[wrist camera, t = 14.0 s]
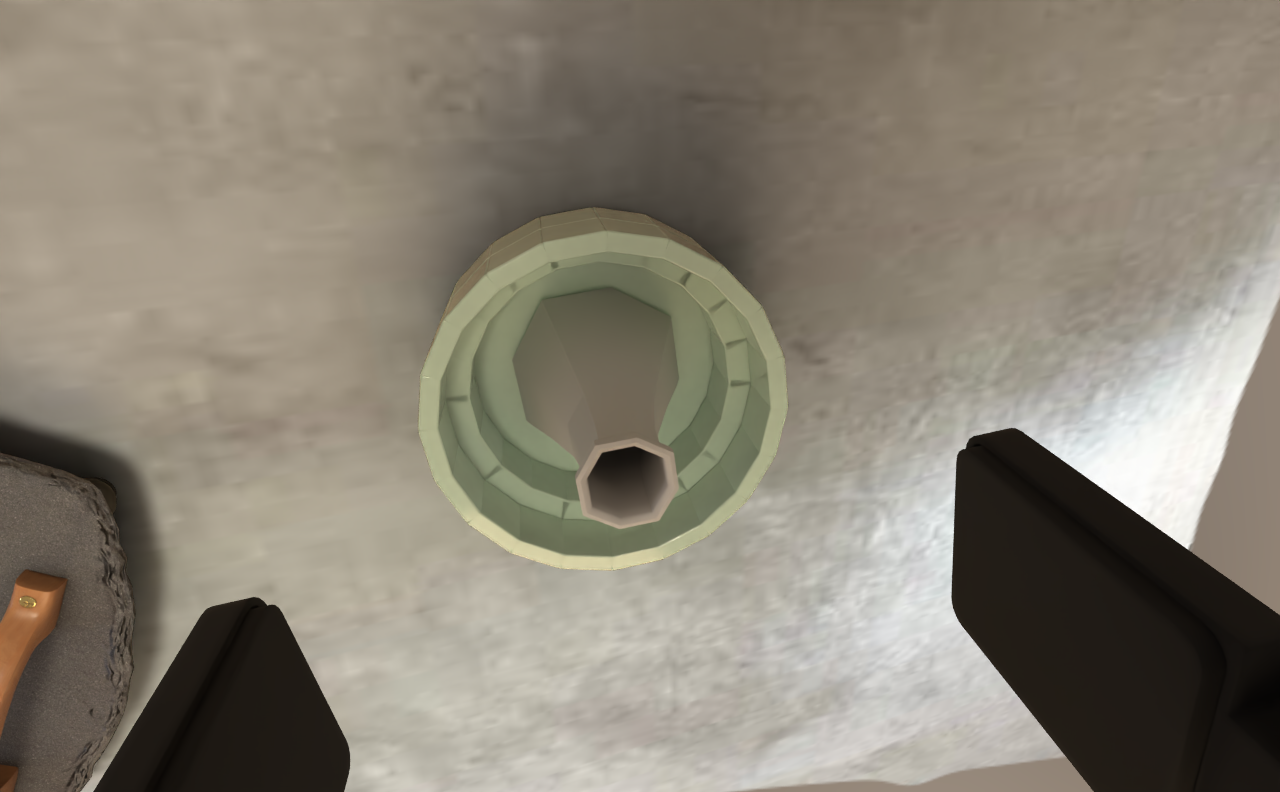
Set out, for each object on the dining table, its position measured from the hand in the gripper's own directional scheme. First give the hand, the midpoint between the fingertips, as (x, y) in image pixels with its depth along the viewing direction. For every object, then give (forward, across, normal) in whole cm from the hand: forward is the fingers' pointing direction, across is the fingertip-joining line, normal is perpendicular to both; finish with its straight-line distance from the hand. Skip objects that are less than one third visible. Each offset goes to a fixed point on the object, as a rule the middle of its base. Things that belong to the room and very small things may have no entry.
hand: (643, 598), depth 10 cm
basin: (+21, 0, +5) cm, 22 cm away
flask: (+21, 0, +5) cm, 21 cm away
